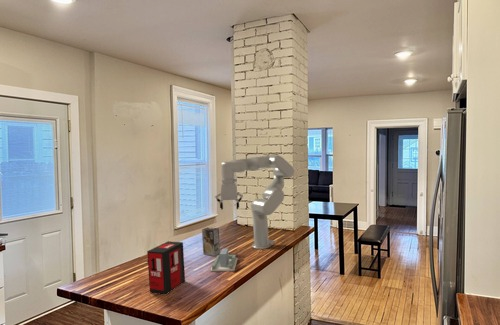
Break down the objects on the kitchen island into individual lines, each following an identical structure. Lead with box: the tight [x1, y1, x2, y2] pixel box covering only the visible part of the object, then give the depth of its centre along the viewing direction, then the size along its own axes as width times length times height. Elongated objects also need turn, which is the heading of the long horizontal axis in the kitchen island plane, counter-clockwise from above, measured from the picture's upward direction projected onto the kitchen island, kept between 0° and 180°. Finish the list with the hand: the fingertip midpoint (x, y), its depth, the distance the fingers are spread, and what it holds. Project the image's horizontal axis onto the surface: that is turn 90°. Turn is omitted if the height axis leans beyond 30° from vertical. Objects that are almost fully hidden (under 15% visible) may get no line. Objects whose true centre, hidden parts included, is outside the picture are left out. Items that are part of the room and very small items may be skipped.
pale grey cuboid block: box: [219, 248, 230, 267], centre depth 193 cm, size 4×10×7 cm, turn 176°
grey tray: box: [210, 254, 239, 272], centre depth 193 cm, size 13×18×3 cm
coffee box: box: [201, 227, 221, 257], centre depth 214 cm, size 9×6×16 cm
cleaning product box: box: [146, 240, 186, 295], centre depth 166 cm, size 16×9×20 cm, turn 159°
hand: (229, 209), depth 212 cm, fingers open, 9 cm apart
